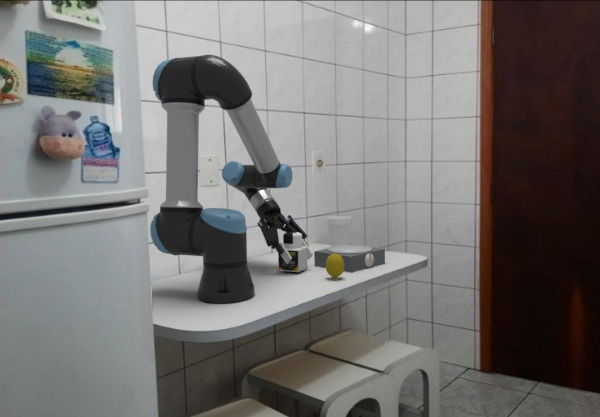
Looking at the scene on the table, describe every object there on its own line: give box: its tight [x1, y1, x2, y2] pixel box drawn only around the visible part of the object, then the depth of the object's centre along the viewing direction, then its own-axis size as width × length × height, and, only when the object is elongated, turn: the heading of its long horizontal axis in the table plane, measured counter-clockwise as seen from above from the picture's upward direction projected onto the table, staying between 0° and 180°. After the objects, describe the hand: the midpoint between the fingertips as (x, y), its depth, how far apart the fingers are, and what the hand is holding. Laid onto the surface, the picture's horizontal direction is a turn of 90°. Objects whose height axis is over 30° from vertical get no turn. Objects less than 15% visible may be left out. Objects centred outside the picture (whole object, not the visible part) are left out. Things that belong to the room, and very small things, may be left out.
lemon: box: [325, 253, 345, 280], centre depth 161 cm, size 6×6×8 cm
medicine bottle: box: [277, 232, 308, 273], centre depth 172 cm, size 7×7×12 cm
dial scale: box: [313, 243, 386, 273], centre depth 181 cm, size 18×17×6 cm
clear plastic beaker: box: [326, 215, 352, 247], centre depth 209 cm, size 10×9×13 cm
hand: (300, 258), depth 170 cm, fingers closed on medicine bottle, 9 cm apart
